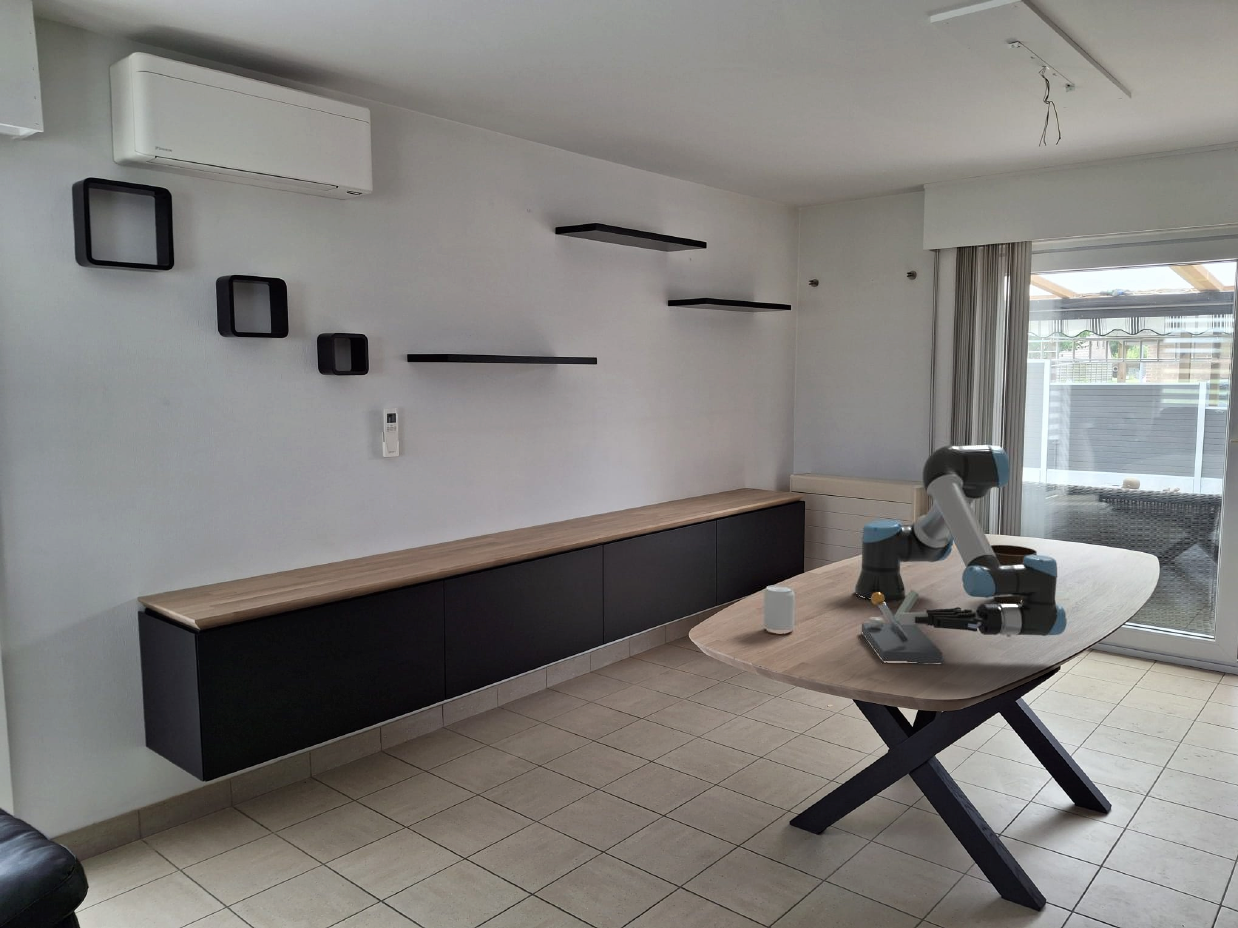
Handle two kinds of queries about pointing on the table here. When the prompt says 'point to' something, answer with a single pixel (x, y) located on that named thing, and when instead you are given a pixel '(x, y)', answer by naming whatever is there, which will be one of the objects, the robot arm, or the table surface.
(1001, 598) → the plant pot
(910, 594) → the sage paddle
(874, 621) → the white push button
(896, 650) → the switch panel
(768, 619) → the beverage can
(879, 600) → the steel toggle lever
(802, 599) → the table surface
